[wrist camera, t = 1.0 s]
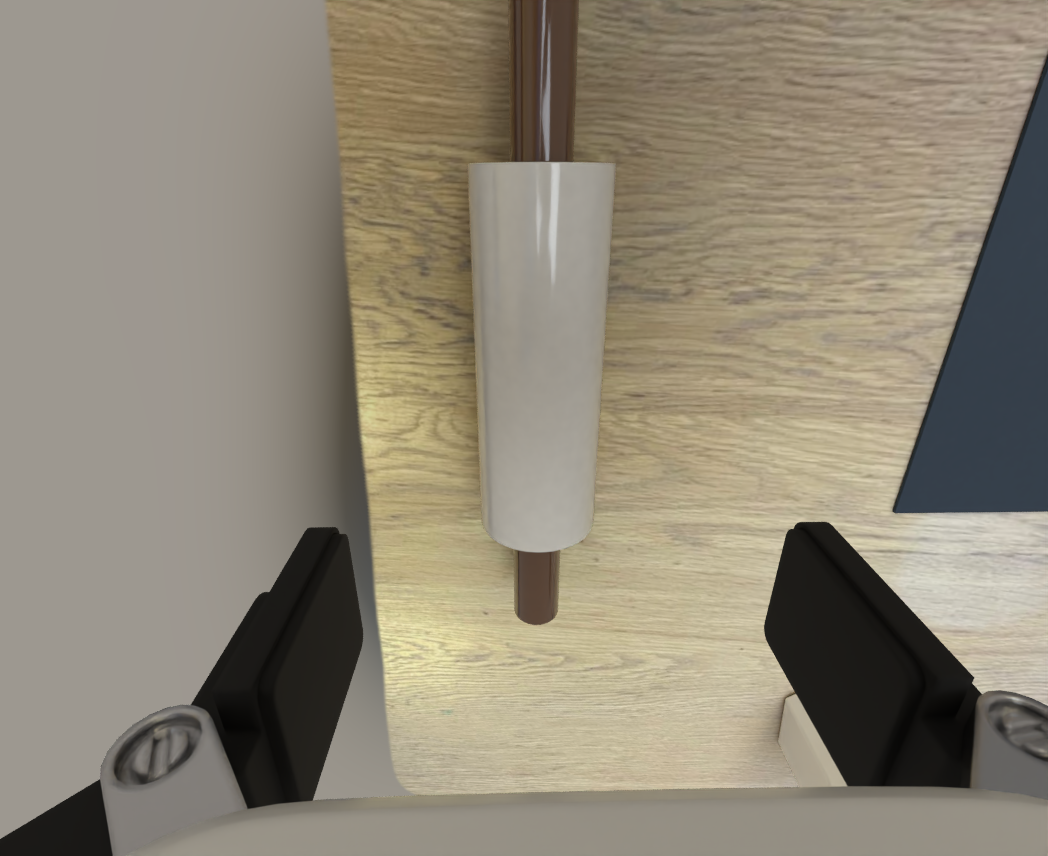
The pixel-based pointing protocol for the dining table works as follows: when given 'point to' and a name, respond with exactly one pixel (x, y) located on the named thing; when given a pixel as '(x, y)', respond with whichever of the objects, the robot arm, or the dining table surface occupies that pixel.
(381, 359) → the dining table surface
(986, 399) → the baking mat
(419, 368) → the dining table surface
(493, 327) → the rolling pin
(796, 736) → the jar
